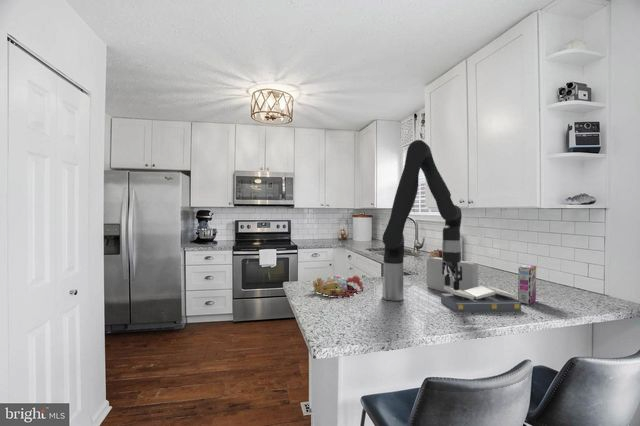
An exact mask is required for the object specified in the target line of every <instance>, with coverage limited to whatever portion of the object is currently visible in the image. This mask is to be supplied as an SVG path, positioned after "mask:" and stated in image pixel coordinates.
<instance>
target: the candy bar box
mask: <svg viewBox="0 0 640 426" xmlns="http://www.w3.org/2000/svg"><path fill="white" fill-rule="evenodd" d="M517 284H518V287H517V288H518V291H517V292H518V293H517V294H518V295H517V296H518V298H517V300H519V301H521V305H527V306H530V305H532V304H533V303H534V302H535V301H536V299H537V295H536V293H537V265H532V264H524V265H521V266H518V283H517Z"/></svg>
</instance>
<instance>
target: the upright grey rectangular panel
mask: <svg viewBox="0 0 640 426" xmlns="http://www.w3.org/2000/svg"><path fill="white" fill-rule="evenodd" d="M442 262H444V261H443V260H442V257H436V256H435V257H429V258H427V259H426V286H427V288H430V289H433V290H437V291H441V292H444V293H447V294H453V293H451V292H449V291H447V290H445V289H444V286H446V285H445V277H444V275H442ZM458 266H462V281H459V290H462V291H464V290H468V289H471V288H475V287H478V286H479V267H478V264H477V263H476V262H474V261H466V260H461V261H460V262H458ZM459 277H460V275H459ZM453 281H454V280H453V277H452V276H451V275H450V286H446V287H450V288H453Z"/></svg>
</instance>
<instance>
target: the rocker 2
mask: <svg viewBox="0 0 640 426" xmlns="http://www.w3.org/2000/svg"><path fill="white" fill-rule="evenodd" d="M464 292H466V293H468V294H470V295H472V296H474V298H475V299H480V298H484V297H487V296H491V295H494V294H496V293H495V291H493V290H491V289H488V288H486V287H485V286H483V285H478V287H475V288H471V289H468V290H464Z"/></svg>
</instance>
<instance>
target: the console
mask: <svg viewBox="0 0 640 426" xmlns="http://www.w3.org/2000/svg"><path fill="white" fill-rule="evenodd" d="M440 303H441V304H442V305H444V306H446V307H447V308H448V309H450V310H451V311H453V312H455V313H463V312H465V313H467V312H469V313H470V312H477V313H478V312H521V311H522V304H521V301H519V300H518V298H517V299H516V298H512V297H508V296H504V295H500V294H497V293H496V294H494V295H491V296H487V297H484V298H480V299H475V298H474V299H470V298H466V297H462V296H458V295H455V294H452V293H440Z"/></svg>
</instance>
